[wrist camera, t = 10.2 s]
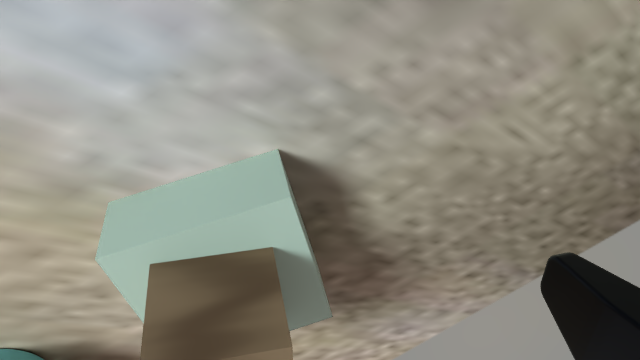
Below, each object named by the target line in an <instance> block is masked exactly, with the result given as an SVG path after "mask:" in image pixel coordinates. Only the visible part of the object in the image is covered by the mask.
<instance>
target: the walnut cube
mask: <svg viewBox="0 0 640 360" xmlns="http://www.w3.org/2000/svg"><path fill="white" fill-rule="evenodd" d="M140 360H293V350H292V342H291V337H290V332H289V327H288V322H287V317H286V312H285V307H284V302H283V297H282V292H281V286H280V281H279V276H278V271H277V266H276V261H275V256H274V251H273V247H269V248H262V249H255V250H247V251H240V252H233V253H226V254H219V255H212V256H205V257H197V258H190V259H183V260H176V261H169V262H162V263H154V264H150V266H149V276H148V286H147V296H146V306H145V316H144V326H143V336H142V346H141V356H140Z"/></svg>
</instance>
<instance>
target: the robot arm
mask: <svg viewBox="0 0 640 360" xmlns="http://www.w3.org/2000/svg"><path fill="white" fill-rule="evenodd" d="M541 292H542V295H543V297H544V299H545V301H546V303H547V305H548V307H549V309H550V311H551V313H552V315H553V317H554V319H555V321H556V323H557V325H558V327H559V329H560V331H561V333H562V335H563V337H564V339H565V341H566V343H567V345H568V347H569V349H570V351H571V353H572V355H573V357H574V359H575V360H640V288H638V287H637V286H635V285H633V284H631V283H629V282H627V281H625V280H624V279H621V278H620V277H618V276H616V275H614V274H612V273H610V272H608V271H606V270H605V269H603V268H601V267H599V266H597V265H595V264H593V263H591V262H589V261H587V260H586V259H584V258H582V257H580V256H578V255H576V254H574V253H562V254H558V255H553V256H551V257H550V258H549V259H548V261H547V264H546V268H545V271H544V274H543V277H542V281H541Z"/></svg>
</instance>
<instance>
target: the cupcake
mask: <svg viewBox="0 0 640 360" xmlns="http://www.w3.org/2000/svg"><path fill="white" fill-rule="evenodd" d="M0 360H44V359H42V358H41V357H39V356H37V355H35V354H32V353H29V352H25V351H21V350H14V349H0Z"/></svg>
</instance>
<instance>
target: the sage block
mask: <svg viewBox="0 0 640 360" xmlns="http://www.w3.org/2000/svg"><path fill="white" fill-rule="evenodd" d="M269 247H273V251H274V256H275V261H276V266H277V271H278V276H279V281H280V286H281V292H282V297H283V302H284V307H285V312H286V317H287V322H288V327H289V331H291V330H294V329H297V328H300V327H303V326H306V325H309V324H312V323H315V322H319V321H322V320H325V319H328V318H331V317H333V316H332V313H331V310H330V306H329V303H328V299H327V296H326V292H325V289H324V285H323V282H322V278H321V275H320V272H319V268H318V265H317V262H316V259H315V256H314V253H313V250H312V247H311V244H310V241H309V238H308V235H307V233H306V230H305V227H304V224H303V221H302V218H301V215H300V212H299V209H298V206H297V203H296V200H295V197H294V195H293V192H292V189H291V186H290V183H289V180H288V177H287V174H286V171H285V168H284V165H283V162H282V159H281V157H280V154H279V151H278V149H276V150H273V151H270V152H267V153H264V154H260V155H257V156H254V157H251V158H248V159H245V160H242V161H238V162H235V163H232V164H229V165H226V166H223V167H219V168H216V169H213V170H210V171H207V172H204V173H200V174H197V175H194V176H191V177H188V178H185V179H181V180H178V181H175V182H172V183H169V184H166V185H162V186H159V187H156V188H153V189H150V190H147V191H143V192H140V193H137V194H134V195H131V196H128V197H124V198H121V199H118V200H115V201H112V202H109V203H108V207H107V211H106V216H105V220H104V224H103V228H102V233H101V237H100V241H99V245H98V250H97V254H96V258H95V260H96V261H97V262H98V264H99V265H100V266H101V268H102V269H103V270H104V272H105V273H106V274H107V276H108V277H109V278H110V280H111V281H112V282H113V284H114V285H115V286H116V288H117V289H118V290H119V291H120V293H121V294H122V295H123V297H124V298H125V299H126V301H127V302H128V303H129V305H130V306H131V307H132V309H133V310H134V311H135V313H136V314H137V315H138V316H139V318H140V319H141V320H142V322H143V323H144V316H145V306H146V296H147V286H148V276H149V266H150V264H154V263H162V262H169V261H176V260H183V259H190V258H197V257H205V256H212V255H219V254H226V253H233V252H240V251H247V250H255V249H262V248H269Z"/></svg>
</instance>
